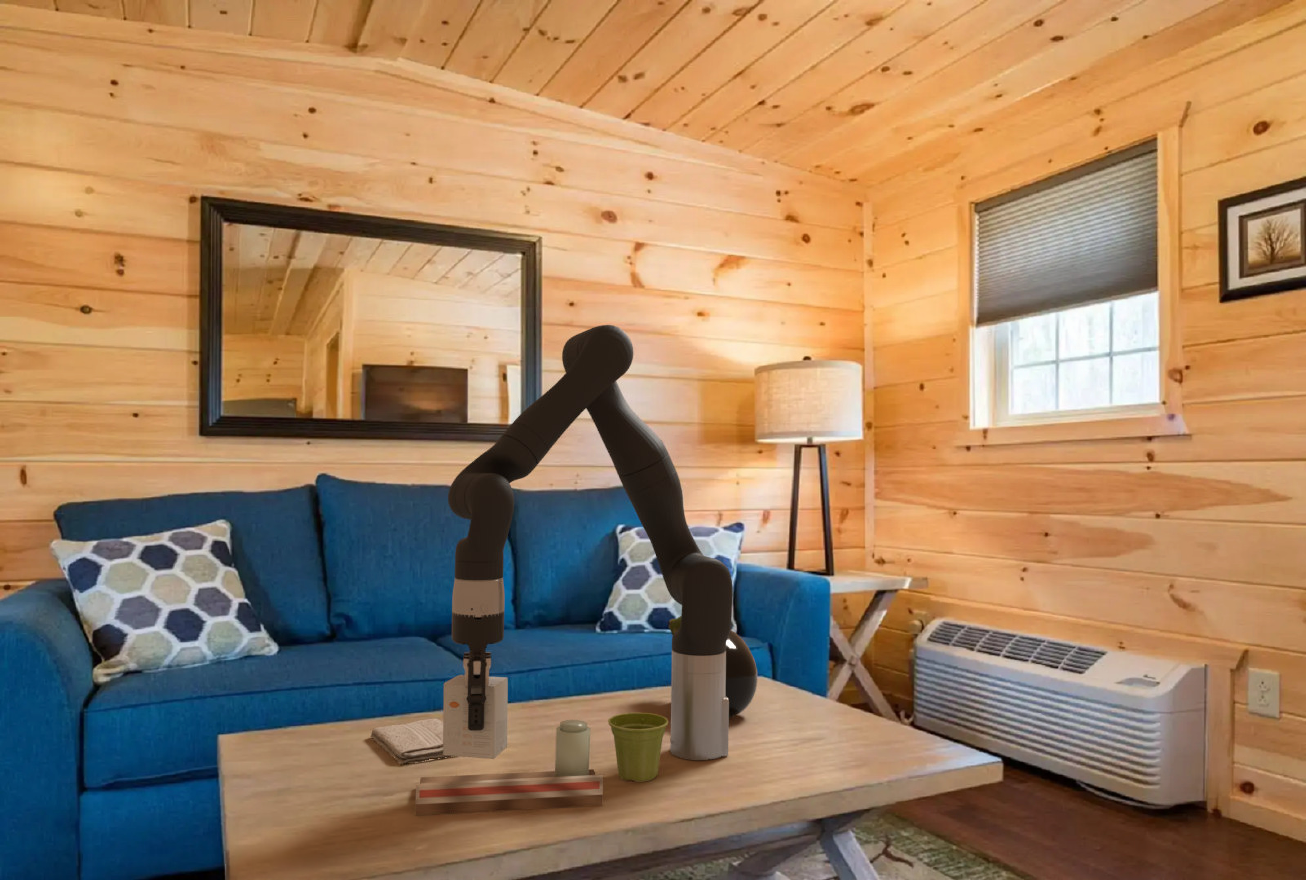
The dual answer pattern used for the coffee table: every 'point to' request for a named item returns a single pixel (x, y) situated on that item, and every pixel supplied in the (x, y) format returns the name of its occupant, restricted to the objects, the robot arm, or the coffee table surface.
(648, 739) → the plant pot
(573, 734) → the sage jar
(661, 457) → the robot arm
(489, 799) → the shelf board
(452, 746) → the small box
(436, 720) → the washcloth
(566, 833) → the coffee table surface
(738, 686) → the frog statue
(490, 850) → the coffee table surface
